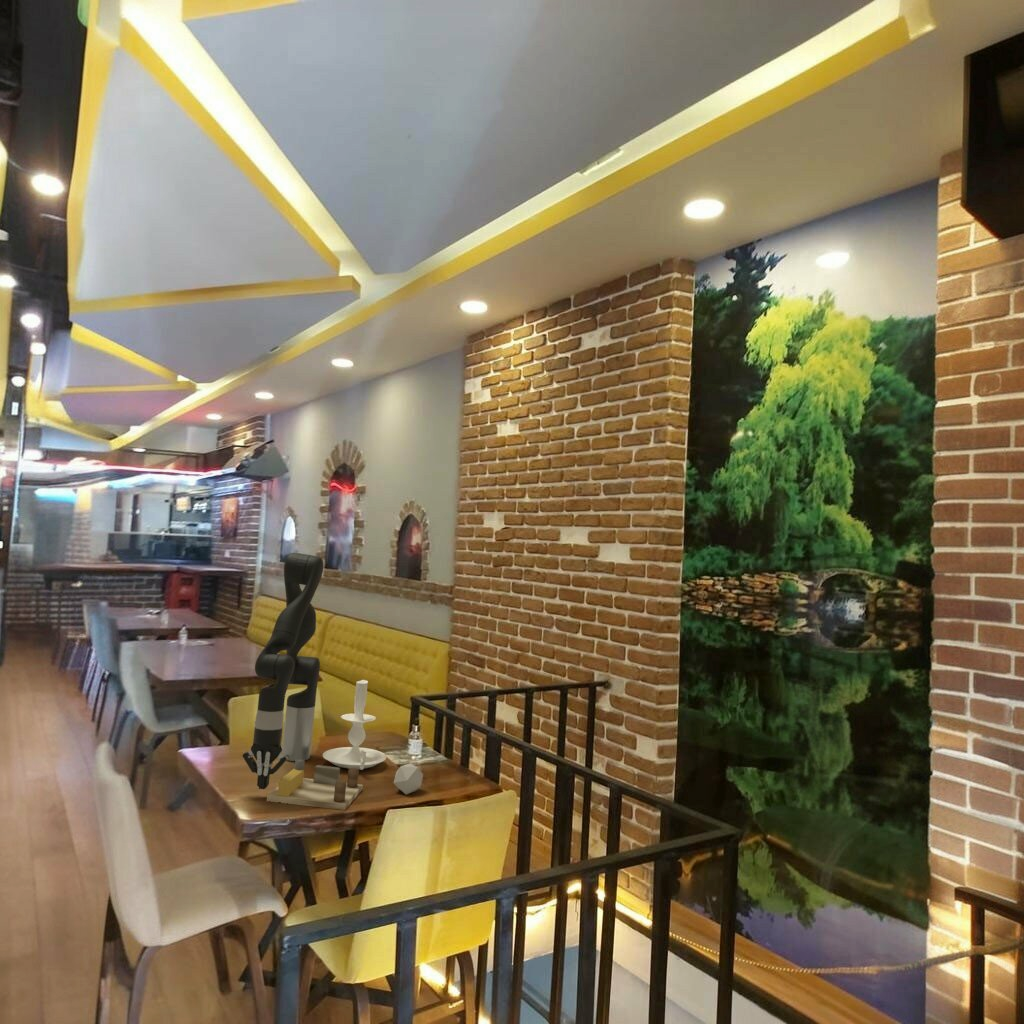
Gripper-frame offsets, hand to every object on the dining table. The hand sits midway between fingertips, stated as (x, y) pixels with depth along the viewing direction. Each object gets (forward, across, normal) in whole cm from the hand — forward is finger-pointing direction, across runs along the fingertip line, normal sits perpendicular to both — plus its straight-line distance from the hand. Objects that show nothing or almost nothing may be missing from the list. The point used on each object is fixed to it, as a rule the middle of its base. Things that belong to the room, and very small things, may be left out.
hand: (262, 788), depth 210 cm
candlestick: (+3, -17, -36) cm, 40 cm away
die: (+3, -38, -18) cm, 42 cm away
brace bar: (+1, -7, -5) cm, 8 cm away
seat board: (+2, -14, -6) cm, 15 cm away
